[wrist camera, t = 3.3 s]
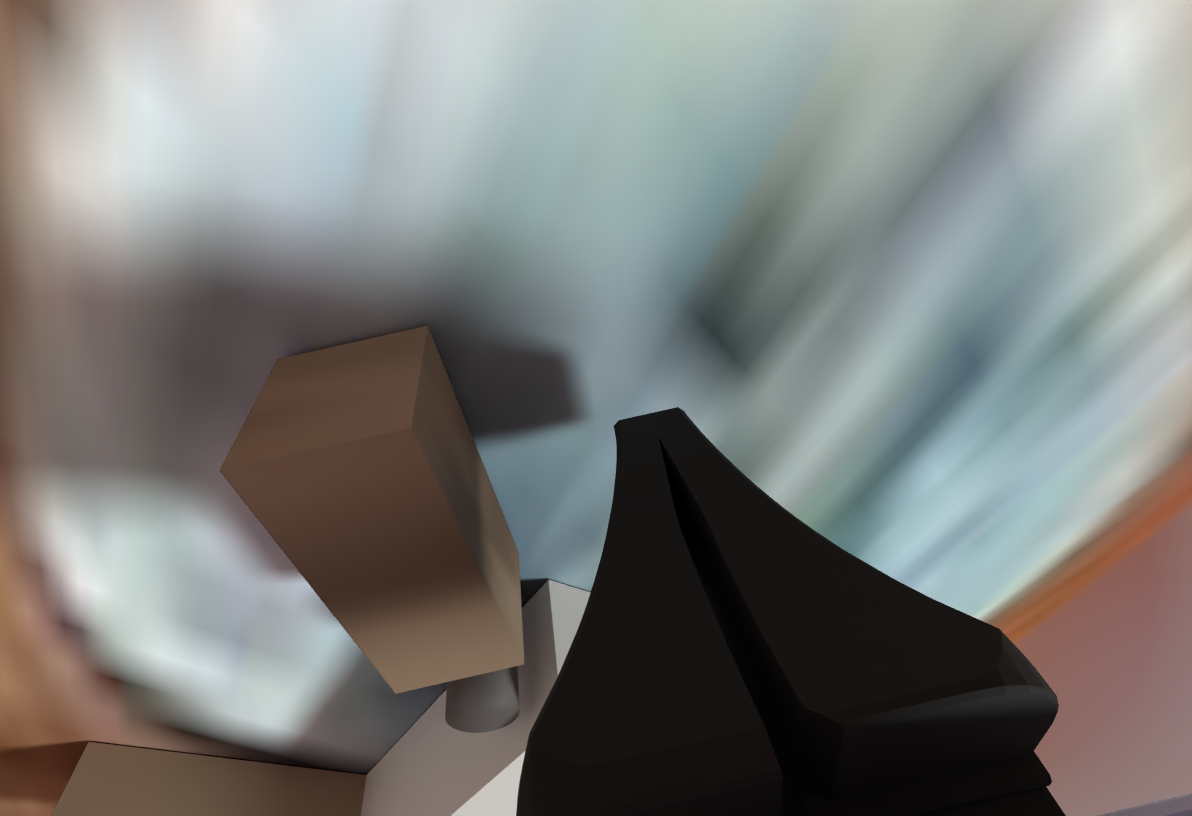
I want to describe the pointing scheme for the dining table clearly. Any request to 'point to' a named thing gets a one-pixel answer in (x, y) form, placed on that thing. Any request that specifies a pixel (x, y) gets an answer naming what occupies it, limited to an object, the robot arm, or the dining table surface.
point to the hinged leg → (390, 517)
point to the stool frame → (337, 799)
